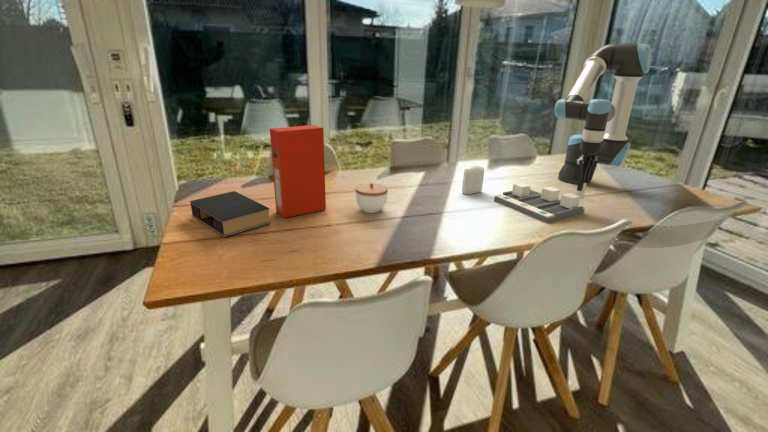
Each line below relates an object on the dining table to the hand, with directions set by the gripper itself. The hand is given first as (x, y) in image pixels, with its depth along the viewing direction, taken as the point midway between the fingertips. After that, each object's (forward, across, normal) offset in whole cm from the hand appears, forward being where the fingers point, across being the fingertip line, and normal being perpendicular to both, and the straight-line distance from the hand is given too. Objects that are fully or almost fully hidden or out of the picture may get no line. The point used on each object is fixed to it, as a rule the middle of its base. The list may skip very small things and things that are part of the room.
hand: (579, 197), depth 168 cm
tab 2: (+3, +6, 0) cm, 6 cm away
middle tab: (+3, +6, -10) cm, 12 cm away
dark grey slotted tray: (+5, +13, -10) cm, 17 cm away
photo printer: (+5, +25, -37) cm, 44 cm away
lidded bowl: (+6, +77, -38) cm, 86 cm away
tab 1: (+3, +13, -19) cm, 23 cm away
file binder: (+6, +102, -49) cm, 113 cm away
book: (+6, +128, -51) cm, 138 cm away
